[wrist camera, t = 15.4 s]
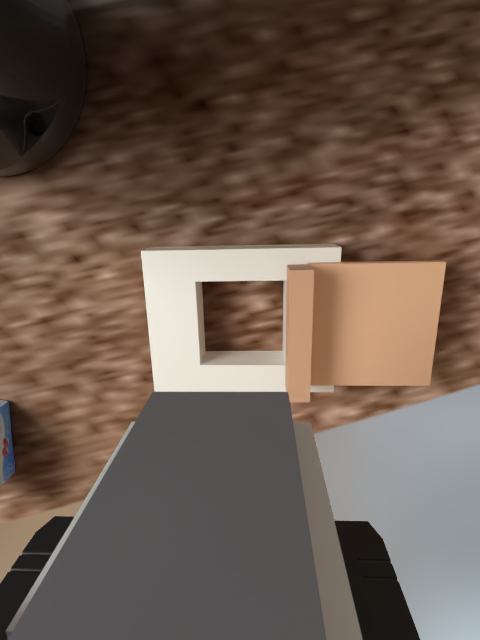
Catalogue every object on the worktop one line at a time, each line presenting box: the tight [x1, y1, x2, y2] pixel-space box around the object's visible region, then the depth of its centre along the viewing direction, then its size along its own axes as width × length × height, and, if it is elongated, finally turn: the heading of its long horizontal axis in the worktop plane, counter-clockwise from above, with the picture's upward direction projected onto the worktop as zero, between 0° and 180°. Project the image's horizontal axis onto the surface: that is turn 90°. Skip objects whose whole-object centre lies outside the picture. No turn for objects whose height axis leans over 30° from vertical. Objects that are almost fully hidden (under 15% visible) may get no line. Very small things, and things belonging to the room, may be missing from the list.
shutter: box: [285, 260, 446, 402], centre depth 25 cm, size 9×10×3 cm
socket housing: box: [141, 243, 341, 392], centre depth 29 cm, size 11×14×3 cm
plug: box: [8, 392, 326, 640], centre depth 8 cm, size 4×4×10 cm
